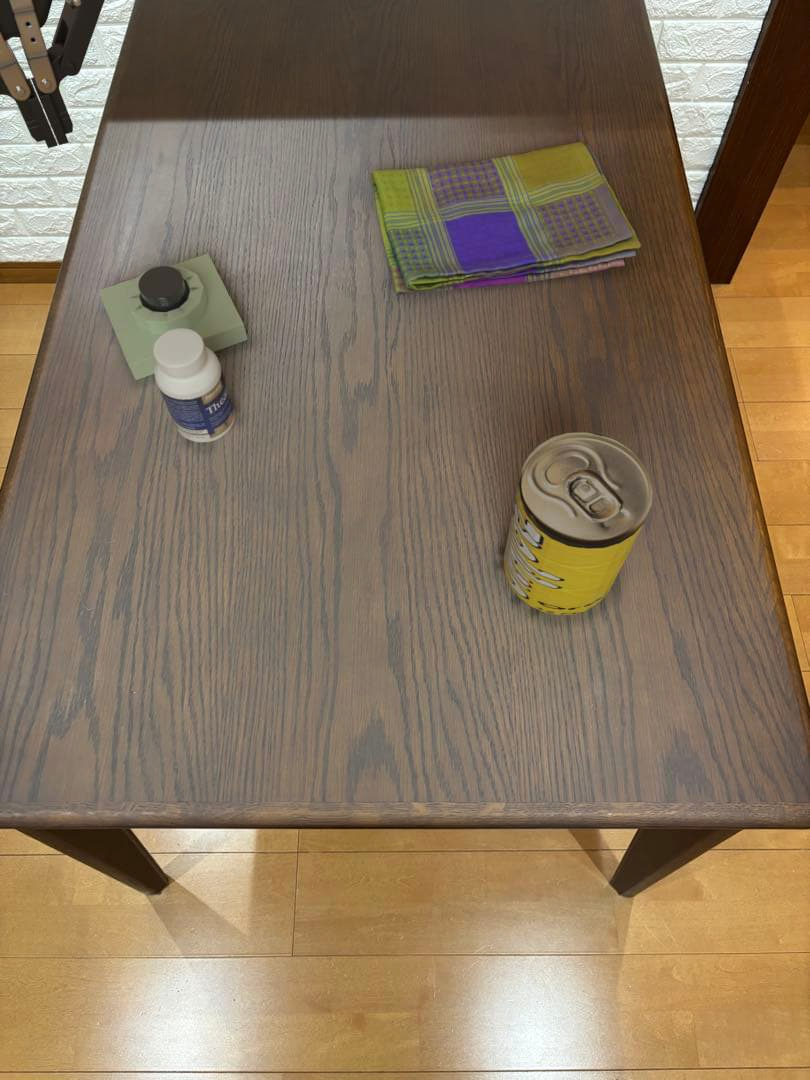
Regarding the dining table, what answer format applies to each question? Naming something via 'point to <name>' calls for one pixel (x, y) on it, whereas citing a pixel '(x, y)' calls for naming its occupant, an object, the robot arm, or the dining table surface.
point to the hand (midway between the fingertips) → (55, 138)
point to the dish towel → (500, 220)
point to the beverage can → (574, 521)
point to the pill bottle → (193, 386)
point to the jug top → (173, 315)
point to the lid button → (163, 288)
